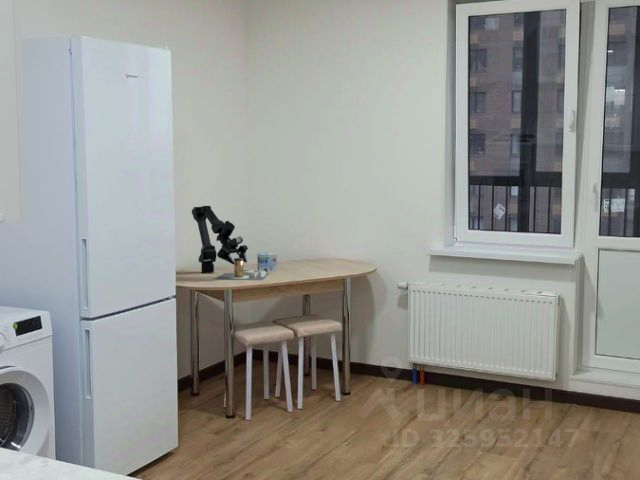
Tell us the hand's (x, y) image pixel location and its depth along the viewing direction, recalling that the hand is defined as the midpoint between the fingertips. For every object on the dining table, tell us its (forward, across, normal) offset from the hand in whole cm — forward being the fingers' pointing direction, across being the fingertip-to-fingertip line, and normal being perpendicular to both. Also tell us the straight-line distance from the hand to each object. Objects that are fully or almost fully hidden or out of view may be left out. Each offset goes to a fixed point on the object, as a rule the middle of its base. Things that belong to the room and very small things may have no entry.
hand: (240, 263), depth 420 cm
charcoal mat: (+4, +6, +9) cm, 11 cm away
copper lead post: (+4, 0, +6) cm, 8 cm away
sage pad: (+5, 0, +7) cm, 9 cm away
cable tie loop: (+6, +11, +6) cm, 14 cm away
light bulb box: (+1, +29, +12) cm, 32 cm away
